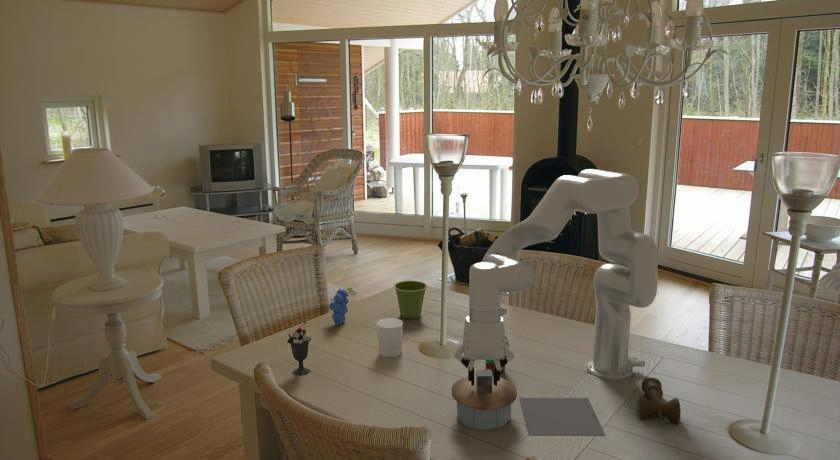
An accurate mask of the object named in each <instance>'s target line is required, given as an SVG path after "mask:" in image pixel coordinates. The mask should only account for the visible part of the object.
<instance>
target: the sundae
mask: <svg viewBox="0 0 840 460" xmlns="http://www.w3.org/2000/svg"><path fill="white" fill-rule="evenodd" d="M306 324H307V321H304V322H303V324H301V327H297V329H296V330H294V331H293V332H292V335H291V334H287V335H288V339H287V342H286V343H287V344H290V348H291V352H292V356H293V359H295V361H297V362H298V368H295V369H293V370H292V375H295V376H299V377H300V376H301V377H302V376H305V375H308V374H309V373H310V372H311V370H310V369H309V368H308V367H305V366H304V361H305V360H306V359H307V357H308V354H309V344H310V341H311V340H312V338H311V336H309V334H308V333H307V330H306V328H303V329H302V327H304V326H305V325H306Z"/></svg>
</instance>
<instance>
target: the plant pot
mask: <svg viewBox="0 0 840 460" xmlns="http://www.w3.org/2000/svg"><path fill="white" fill-rule="evenodd" d="M393 287H394V289H395V292H396V293H395V294H396V296H397V303H398V307H399V314H400V316H401V317H402V318H404V319H412V320H413V319H416V318H417V319H418V318H420V317H421V315H422V309H423V305H424V304H423V303H424V296H425V294H426V290H427V288H428V284H427V283H425V282H422V281H420V280H419V281H418V280H403V281H399V282H396V283H395V284H393Z"/></svg>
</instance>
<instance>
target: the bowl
mask: <svg viewBox="0 0 840 460" xmlns="http://www.w3.org/2000/svg"><path fill="white" fill-rule="evenodd" d="M456 412H457V413H456V414H457V417H456V418H457V420H458V422H459V423H460V424H461V425H462V426H463V427H466V428H468V429H469V428H473V429H476V430H494V429H495V430H496V429H499V428H502V427H503V426H505V425H507V424H508V423H509V421H510V420H511V419H512V404H510V405H508V406H506V407H503V408H499V409H492V410H482V409H474V408H470V407H467V406H464V405H462V404H460V403H458V402H457V401H456Z"/></svg>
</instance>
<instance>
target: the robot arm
mask: <svg viewBox="0 0 840 460" xmlns="http://www.w3.org/2000/svg"><path fill="white" fill-rule="evenodd" d="M639 187H640V186H639V183H638V181H637V180H636V178H635V177H634V176H633V175H631V174H629V173H628V174H627V173H624V172H618V171H617V172H616V171H611V170H604V169H596V168H587V169H583V170H581V171H580V172H579V173H578V174H577V175H572V174H568V175H567V174H566V175H565V174H564V175H561V176H559V177H557V178H556V179H555V181H554V182H553V183H552V184H551V186H550V187H549V188H548V190H547V191H546V193H545V194H544V195H543V197H542V198H541V200H540V201H539V203H538V204H537V205H536V206H535V208H534V210H532V212H531V214H530V215H529V216H528V217H527V218H525V219H524V220H522V221H520V222H519V223H517V224H515V225H513V226H512V227H510V228H509V229H507V230H506V231H504V232H503V233H501V234H500V235H499V236H498V237H497V238H496V239H495V240H494V242H493V243H492V244H491V246H490V247H489V248H488V250H487V251H486V252H485V255H484V256H483V258H482V260H481V261H480V262H476V263H474V264H471V266H470V267H469V274H468V275H469V277H468V278H469V279H468V280H469V283H468V286H469V287H468V288H469V289H468V298H469V299H468V300H469V301H468V316H466V317H465V321H464V327H463V340H462V341H463V342H462V344H461V345H460V347H459V348H457V350H456V351H455V352H454V354H453V356H454V358H455V359H456V360H457V361H458V362H460V363H461V364H462V365H463V366H464V367H465V368H467V372H468V373H467V374H468V375H467V377H468V381H471V386H474V375H475V367H474V365H475V361H486V360H494V362H495V366H494V367H493V381H494V385H495V386H497V381H500V378H501V374H500V370H501V369H502V367H504V366H505V367H506V365H507V364H508V363H509V362H510V361H512V360H513V359H515V357H516V356H515V353H514V352H513V351H512V350H511V348H510V346H509V347H508V346H507V345H506V343H505V335H506V330H505V323H504V317H502V316H504V315H505V316H507V312H508V311H507V308H502V307H501V306H502V305H501V304H502V303H501V302H502V301H501V298H502V296H501V295H502V294H503V293H518V292H522V291H525V290H527V289H528V288H529V287H530V286H532V283H533V281H534V279H535V278H534V276H535V273H534V270H533V268H532V267H531V266H530V265H529V264H528V263H526V262H525V261H522V260H520V259H516V258H515V257H514V255H516V254H517V253H518V252H520V251H521V250H523V249H524V248H526V247H529V246H532V245H537V244H541V243H546V242H550V241H552V240H555V239H556V238H557V237H558V236H559V235H560V233H561V232H562V231H563V229H564V228H565V226H566V225H567V223H568V222H569V221H570V219H571V218H572V216H573V215H574V214H575V212H581V213H584V214H590V215H591V214H593V215H594V214H596V217H597V242H598V243H597V244H598V245H597V246H598V253H599V255H600V256H601V258H602V259H604V260H605V261H608V263H604V264H602V265H600V266H599V267H598V268H597V269H596V271H595V273H594V275H593V289H594V296H595V319H594V333H593V334H594V335H593V350H592V352H593V354H592V359H591V360H589V361H588V362H587V363H586V369H587V372H589V373H590V375H594V376H595V377H598V378H602V379H606V380H613V381H614V380H615V381H616V380H624V379H628V378H630V377H632V375H633V373H634V371H633V369H634V367H638V368H639V367H641V368H645V366H646V362H645V360H644V359H638V357H637V356H634V357H633V356H632V357H630V356H629V347H630V344H629V343H630V331H631V319H632V316H631V307H632V306H633V307H635V308H639V309H640V308H641V309H644V308H648V307H649V306H650V305H652V304H653V303H654V301H655V298H656V296H657V293H658V292H657V291H658V267H659V264H658V263H659V257H658V255H659V254H658V253H659V251H658V247H657V244H656V242H655V240H654V239H653V238H652V237H651V236H650V235H648V234H646V233H642V232H639V231H638V232H637V231H634V230H633V229H632V227H631V226H632V225H631V224H632V223H631V222H632V221H631V211H630V207H629V206H631V205H632V204H633V203H634V202H635V201H636V200H637V198H638V196H639V191H640V188H639ZM609 262H610V263H609ZM630 306H631V307H630ZM505 353H506V356H505ZM500 359H501V360H500Z"/></svg>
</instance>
